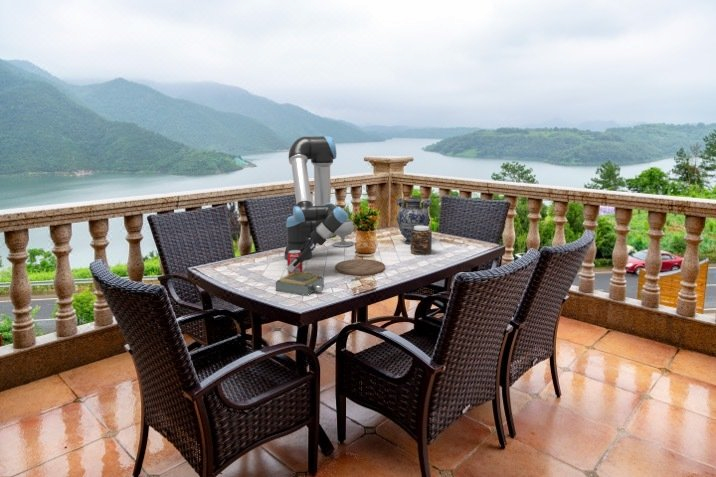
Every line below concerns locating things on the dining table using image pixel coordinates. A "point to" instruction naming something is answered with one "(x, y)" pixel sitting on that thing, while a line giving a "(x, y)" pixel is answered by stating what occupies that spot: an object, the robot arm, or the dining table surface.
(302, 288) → the grey framed box
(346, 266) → the trivet
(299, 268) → the soda can
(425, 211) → the decorative vase
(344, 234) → the chalice
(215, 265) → the dining table surface
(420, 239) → the jar
